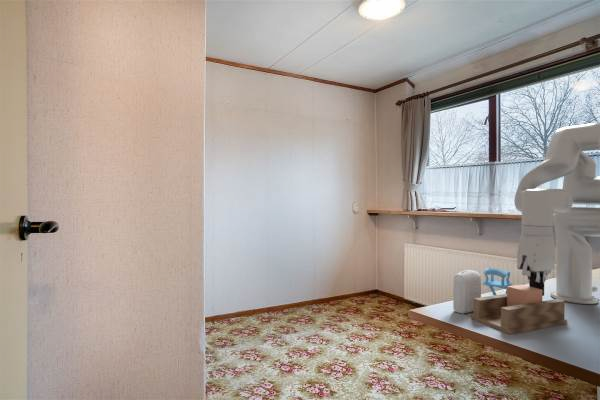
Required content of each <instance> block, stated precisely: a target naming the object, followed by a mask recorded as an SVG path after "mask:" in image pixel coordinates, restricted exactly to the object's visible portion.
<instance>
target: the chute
mask: <svg viewBox="0 0 600 400" xmlns="http://www.w3.org/2000/svg"><path fill="white" fill-rule="evenodd" d="M565 303H566V301H563V300H559V299H556V298H553V299H547V300H542V301H541V302H534V303H528V304H521V305H515V306H509V307H507V294H505V293H504V294H496V295H495V296H494V295H488V296H481V297H480V298H473V311H472V313H473V314H471V315H470V316H471V317H470V318H471V319H472V320H473V321H477V322H478V323H481V324H483V325H486V326H489V327H490V328H494V329H496V330H498V331H501V332H504V333H506V334H509V335H515V334H520V333H525V332H530V331H537V330H540V329H545V328H550V327H551V328H552V327H555V326H562V325H566V324H568V319H566V318H565V308H566V307H565V305H566V304H565Z"/></svg>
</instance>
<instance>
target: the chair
mask: <svg viewBox="0 0 600 400" xmlns="http://www.w3.org/2000/svg"><path fill="white" fill-rule="evenodd" d="M483 274H484V276H485V280H484V281H483V282H482V285H483V286H487V287H488V288H489V289H490V291H491V293H492V296H495V295H497V293H496V291H495V289H494V287H495V288H499V289H504V290H505V293H504V294H507V286H513V283H512V282H510V278H511V277H510V276H511V272H510V271H509V270H506V269H504V270H500V269H498V268H491V267H487V268H485V269H483ZM489 275H490V278H489ZM494 276H498V277H500V278H501V280H500V281H499V280H495V278H494ZM505 278H506V279H505ZM505 280H506V281H505Z"/></svg>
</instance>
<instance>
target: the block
mask: <svg viewBox="0 0 600 400" xmlns="http://www.w3.org/2000/svg"><path fill="white" fill-rule="evenodd" d="M541 301H543V296H542V289H538V288H534V287H530V286H529V285H525V284H515V285H513V284H512V286H507V307H509V306H515V305H521V304H528V303H534V302H541Z"/></svg>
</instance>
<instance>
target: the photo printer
mask: <svg viewBox="0 0 600 400" xmlns="http://www.w3.org/2000/svg"><path fill="white" fill-rule="evenodd" d="M453 277H454V278H453V291H452V292H453V299H452V300H453V301H452V302H453V306H452V307H453V311H454V312H456V313H459V314H468V313H471V312H473V298H480V297H482V276H481V274H480V272H478V271H476V270H475V269H474V270H473V269H472V270H471V269H464V270H462V271H459V272H457V273H456V275H455V276H453Z"/></svg>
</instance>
